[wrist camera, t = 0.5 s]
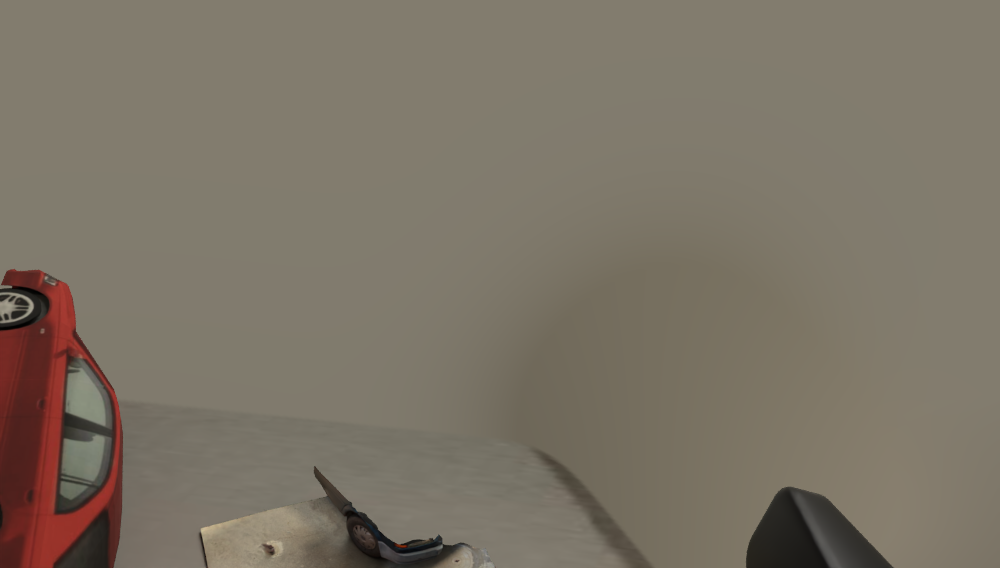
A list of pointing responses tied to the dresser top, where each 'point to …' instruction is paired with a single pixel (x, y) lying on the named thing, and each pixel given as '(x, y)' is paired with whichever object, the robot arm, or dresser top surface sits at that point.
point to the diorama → (325, 540)
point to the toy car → (54, 434)
